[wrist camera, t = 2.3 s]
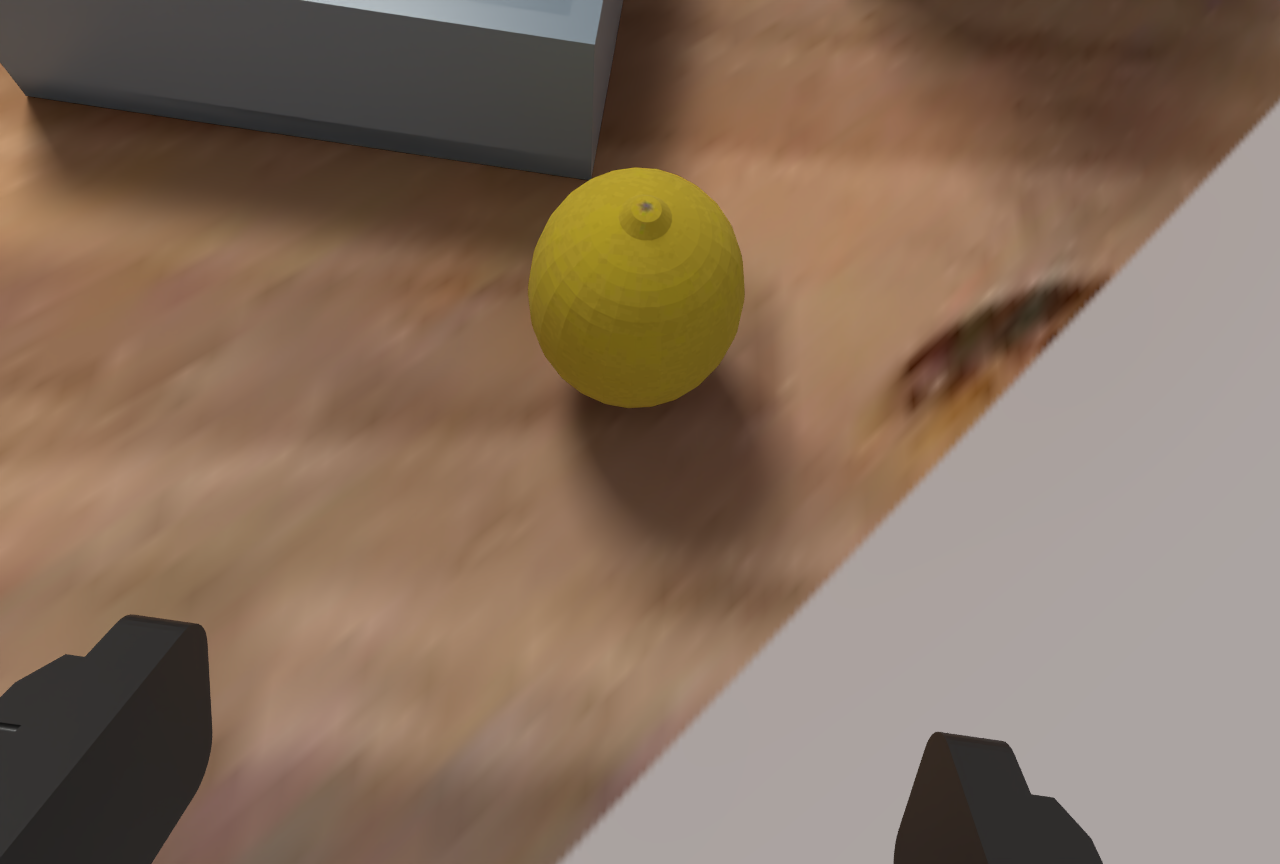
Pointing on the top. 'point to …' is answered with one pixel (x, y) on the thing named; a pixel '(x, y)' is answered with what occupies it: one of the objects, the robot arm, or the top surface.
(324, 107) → the tote
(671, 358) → the lemon
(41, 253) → the top surface
